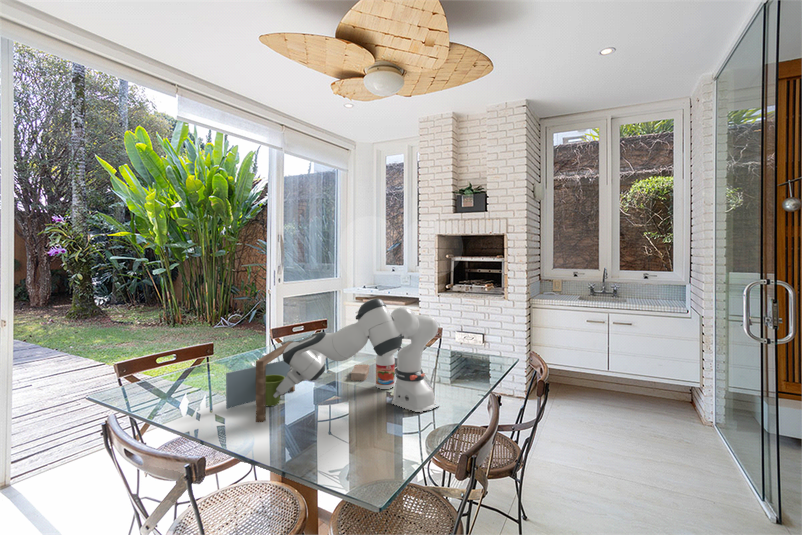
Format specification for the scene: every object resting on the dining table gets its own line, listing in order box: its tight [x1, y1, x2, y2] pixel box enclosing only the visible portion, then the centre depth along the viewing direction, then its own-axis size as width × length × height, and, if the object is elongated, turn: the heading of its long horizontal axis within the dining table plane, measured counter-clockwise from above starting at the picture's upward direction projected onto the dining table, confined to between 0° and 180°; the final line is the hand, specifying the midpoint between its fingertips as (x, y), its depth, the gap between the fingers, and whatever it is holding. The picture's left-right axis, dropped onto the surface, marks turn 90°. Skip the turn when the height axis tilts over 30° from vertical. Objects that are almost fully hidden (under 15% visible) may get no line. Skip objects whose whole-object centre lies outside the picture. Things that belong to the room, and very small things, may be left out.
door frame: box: [255, 340, 296, 423], centre depth 168 cm, size 3×36×24 cm, turn 176°
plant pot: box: [266, 375, 285, 407], centre depth 169 cm, size 12×12×11 cm
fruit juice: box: [375, 354, 396, 390], centre depth 193 cm, size 9×9×28 cm
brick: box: [350, 363, 370, 382], centre depth 211 cm, size 17×8×5 cm, turn 178°
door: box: [225, 359, 291, 410], centre depth 173 cm, size 3×30×15 cm, turn 139°
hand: (278, 392), depth 171 cm, fingers open, 8 cm apart
